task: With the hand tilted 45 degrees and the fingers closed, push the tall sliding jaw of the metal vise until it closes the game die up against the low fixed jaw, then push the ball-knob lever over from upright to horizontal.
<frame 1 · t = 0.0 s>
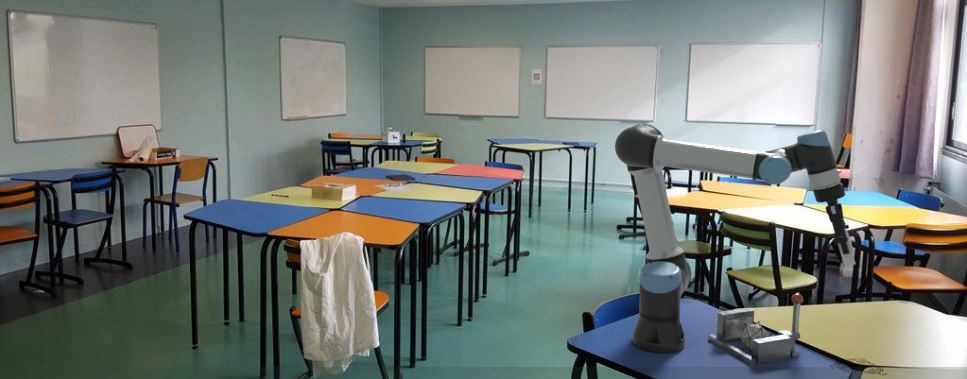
hand: (849, 258, 191), 28 cm above the table, tool tilted 20°, fingers open, 13 cm apart
jaw: (735, 325, 206), point 4 cm above the table, slide at 0.0 cm
vise body: (749, 347, 201), on the table
game die: (753, 350, 199), resting on vise body
lever: (796, 316, 198), point 10 cm above the table, hinge at 0.0°
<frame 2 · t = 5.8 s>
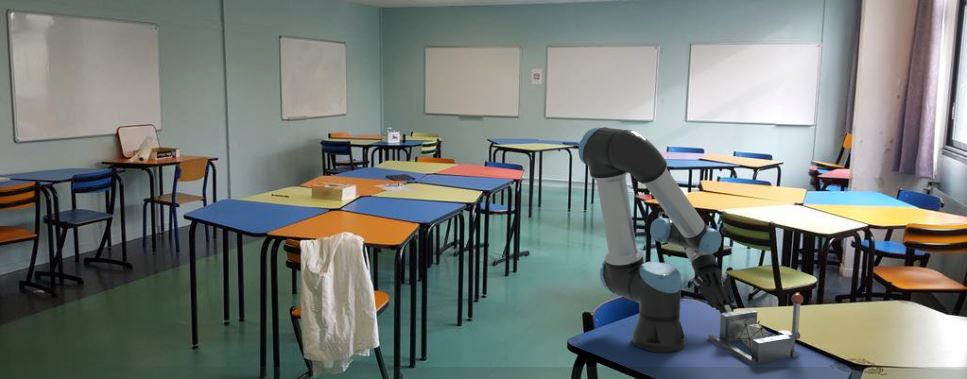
hand: (733, 326, 208), 3 cm above the table, tool tilted 45°, fingers closed
jaw: (738, 326, 205), point 4 cm above the table, slide at 1.3 cm, touching gripper
everything else where it was.
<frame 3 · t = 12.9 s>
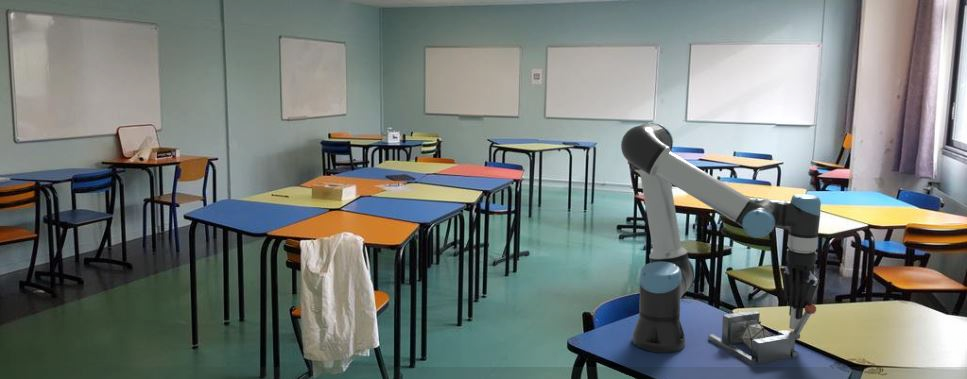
hand: (794, 328, 199), 6 cm above the table, tool pointing down, fingers closed
jaw: (741, 327, 204), point 4 cm above the table, slide at 2.3 cm
lever: (802, 321, 196), point 9 cm above the table, hinge at 27.5°, touching gripper, hand
everything else where it was.
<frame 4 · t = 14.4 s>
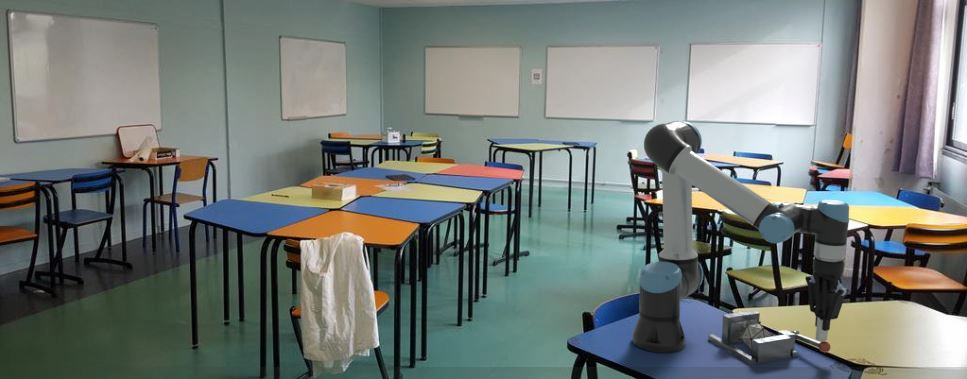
hand: (821, 339, 190), 6 cm above the table, tool pointing down, fingers closed
lever: (809, 340, 194), point 4 cm above the table, hinge at 85.4°, touching gripper
everything else where it was.
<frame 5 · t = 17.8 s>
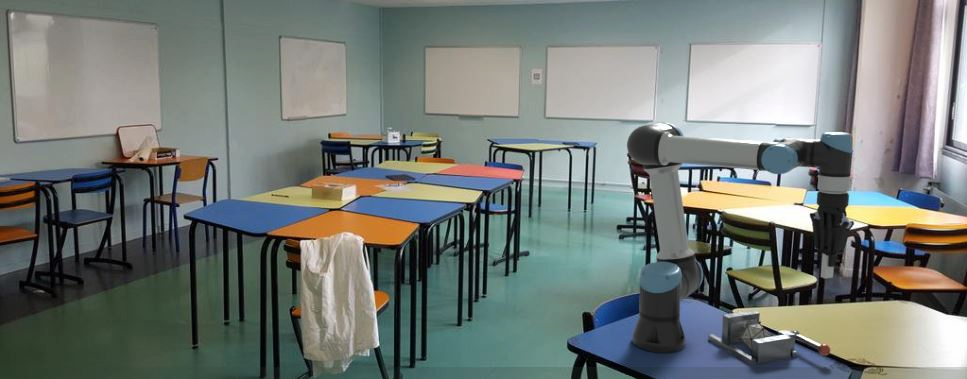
hand: (826, 277, 186), 24 cm above the table, tool pointing down, fingers closed
lever: (809, 342, 194), point 4 cm above the table, hinge at 89.9°
everything else where it was.
at the end: jaw slide at 2.3 cm; game die 0.3 cm from the target spot on the vise body, point 0.0 cm above the vise body's base; lever at +90° (first picture: +0°) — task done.
